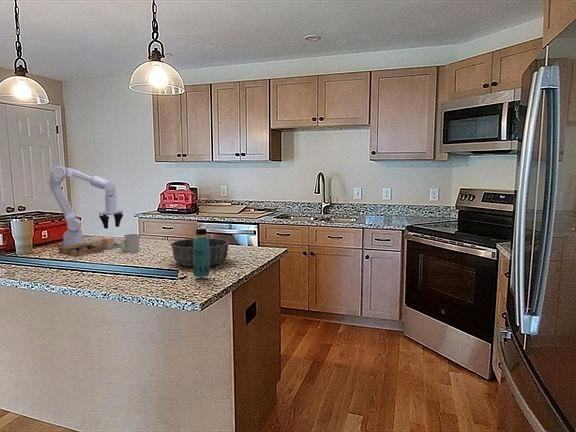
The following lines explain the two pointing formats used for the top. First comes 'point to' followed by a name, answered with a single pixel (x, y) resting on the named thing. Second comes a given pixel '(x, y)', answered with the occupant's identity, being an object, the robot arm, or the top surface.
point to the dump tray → (110, 247)
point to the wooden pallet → (90, 250)
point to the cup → (130, 243)
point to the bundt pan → (185, 251)
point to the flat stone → (82, 248)
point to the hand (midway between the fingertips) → (111, 227)
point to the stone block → (107, 242)
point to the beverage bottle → (201, 254)
